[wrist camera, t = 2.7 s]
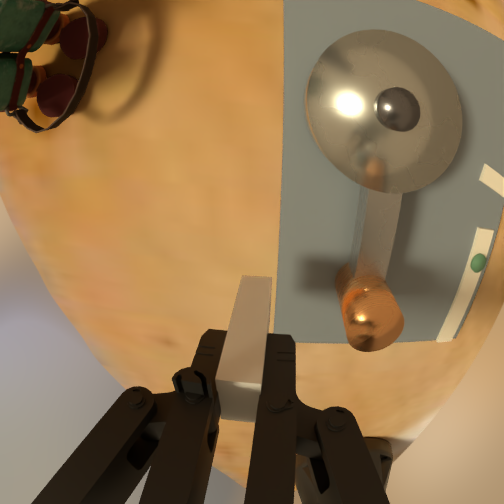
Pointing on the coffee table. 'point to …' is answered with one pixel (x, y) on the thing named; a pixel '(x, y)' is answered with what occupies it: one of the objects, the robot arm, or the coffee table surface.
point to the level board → (413, 203)
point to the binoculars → (34, 77)
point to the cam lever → (380, 156)
